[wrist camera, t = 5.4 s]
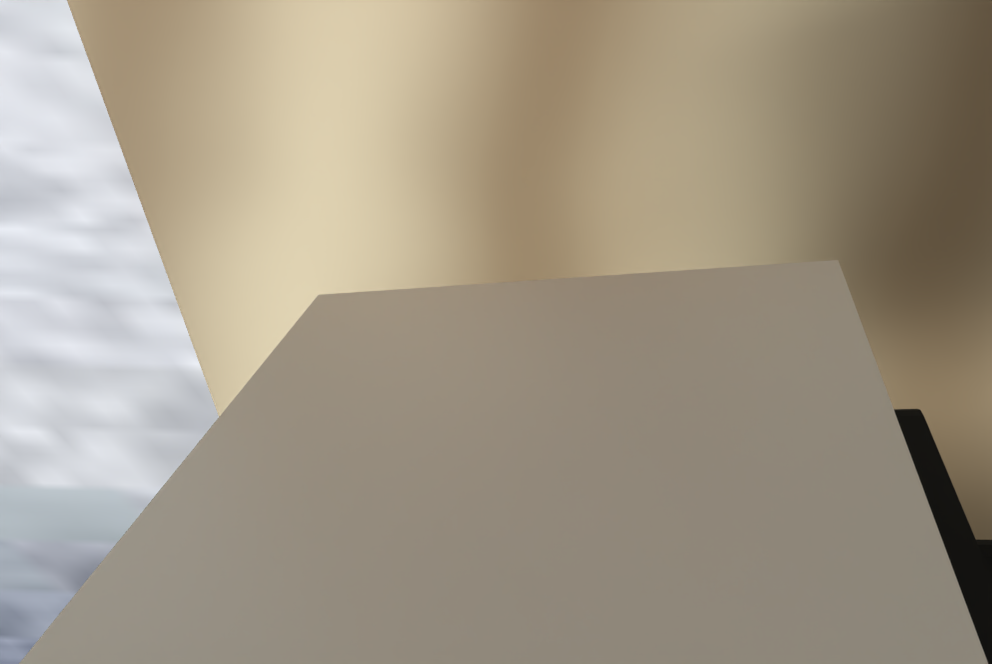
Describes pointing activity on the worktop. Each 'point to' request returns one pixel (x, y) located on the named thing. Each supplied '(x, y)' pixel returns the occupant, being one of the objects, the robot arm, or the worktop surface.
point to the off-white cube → (544, 490)
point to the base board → (569, 162)
